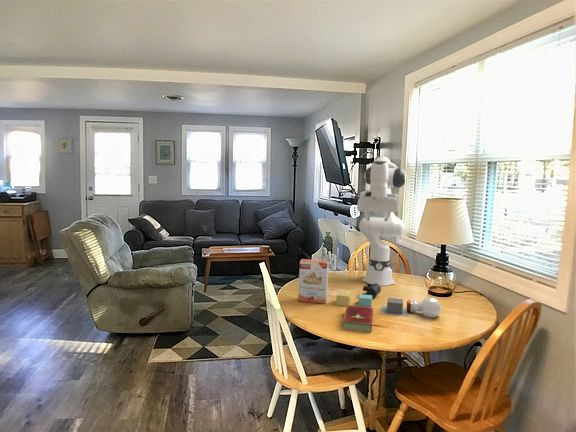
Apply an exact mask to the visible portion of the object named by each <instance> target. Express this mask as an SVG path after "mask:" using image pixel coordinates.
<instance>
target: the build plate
mask: <svg viewBox="0 0 576 432" xmlns="http://www.w3.org/2000/svg"><path fill="white" fill-rule="evenodd" d="M380 310H381V311H380V314H381V315H382V314H383V315H387V316H390V315H391V316H397V317H405V318H408V317H409V312H408V311H407V307H403V311H402V314H396V313H387V305H381V309H380Z"/></svg>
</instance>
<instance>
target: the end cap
mask: <svg viewBox="0 0 576 432" xmlns="http://www.w3.org/2000/svg"><path fill="white" fill-rule="evenodd" d="M362 287H363V288H362V294H364V295H372V300H374V299H375V298H376V297H377V296H378V295H379V294H380V293H381V291H382V286H380V285H379V284H377V283H375V284H369V283H366V285H364V286H362ZM363 291H364V292H363Z"/></svg>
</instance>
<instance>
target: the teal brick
mask: <svg viewBox="0 0 576 432" xmlns="http://www.w3.org/2000/svg"><path fill="white" fill-rule="evenodd" d="M372 305H373V299H372V295H364V294H363V293H360V294H359V297H358V306H362V307H372Z"/></svg>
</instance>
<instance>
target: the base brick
mask: <svg viewBox="0 0 576 432" xmlns="http://www.w3.org/2000/svg"><path fill="white" fill-rule="evenodd" d="M386 303H387V304H386V306H387V313H396V314H402V311H403V308H404V299H403V298H396V297H395V298H394V297H387V301H386Z"/></svg>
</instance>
